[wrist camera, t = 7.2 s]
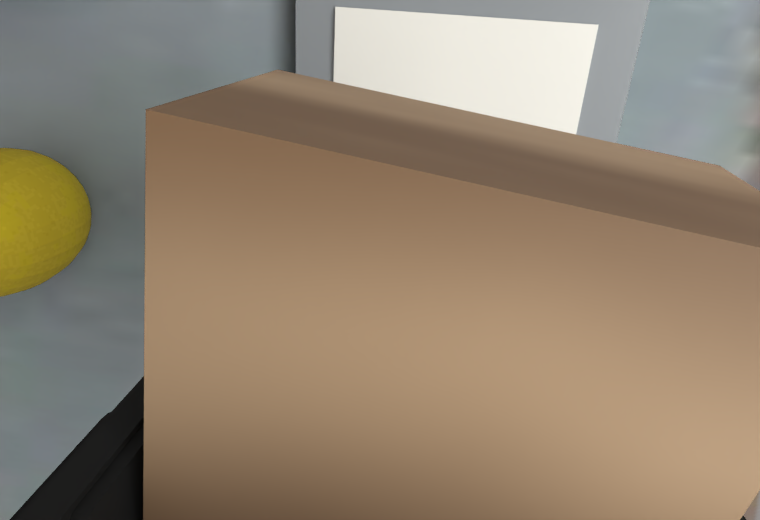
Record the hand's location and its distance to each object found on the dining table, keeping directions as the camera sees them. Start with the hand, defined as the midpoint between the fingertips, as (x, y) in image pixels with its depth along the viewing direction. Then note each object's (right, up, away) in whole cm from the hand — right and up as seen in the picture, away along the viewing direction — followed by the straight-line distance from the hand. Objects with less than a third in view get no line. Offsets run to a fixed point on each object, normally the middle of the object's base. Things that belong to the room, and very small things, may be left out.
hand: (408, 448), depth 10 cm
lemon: (-15, +7, +16) cm, 23 cm away
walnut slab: (0, 0, +1) cm, 1 cm away
